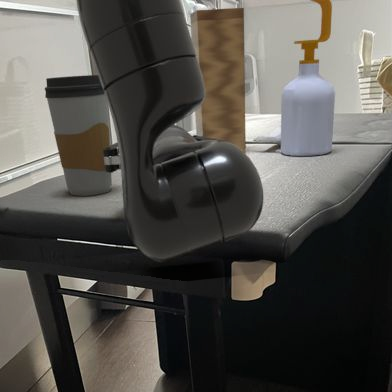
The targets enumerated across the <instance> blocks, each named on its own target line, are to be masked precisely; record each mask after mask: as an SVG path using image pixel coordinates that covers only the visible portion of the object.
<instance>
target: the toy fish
mask: <svg viewBox="0 0 392 392" xmlns="http://www.w3.org/2000/svg"><path fill="white" fill-rule="evenodd" d="M252 142H256V143H274V144H275V145H277V146H281V125H279V126H277V127H276V128H275V130H274V131H272V132H271V133H269V134H268V135H266V136H265V135H263V136H257V137H256V138H254V139H253V140H252Z"/></svg>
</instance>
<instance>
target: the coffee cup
mask: <svg viewBox="0 0 392 392" xmlns="http://www.w3.org/2000/svg"><path fill="white" fill-rule="evenodd" d="M45 80H46V86H45V87H44V91H45V95H44V96H45V97H44V98H45V99H46V100H47V105H48V109H49V114H50V118H51V123H52V127H53V134H54V138H55V142H56V146H57V147H56V148H57V152H58V156H59V160H60V165H61V168H62V170H63V174H64V179H65V183H66V187H67V188H66V189H67V190H68V191H69V192H70V195H72V196H77V197H78V196H79V197H86V196H87V197H88V196H97V195H102V194H105V193H108V192H110V191H111V187H112V186H113V180H112V173H109V172H106V170H105V163H104V154H103V149H104V148H106V147H109V146H111V140H110V139H111V138H110V127H109V115H108V102H107V99H106V96H105V91H104V90H103V88H102V85H101V82H100V79H99V77H98V74H90V75H89V74H87V75H72V76H59V77H57V76H56V77H47V78H46V79H45Z"/></svg>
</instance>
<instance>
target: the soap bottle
mask: <svg viewBox="0 0 392 392" xmlns="http://www.w3.org/2000/svg"><path fill="white" fill-rule="evenodd" d="M310 1H311V2H314V3H317V4H318V5H319V6H320V8H321V19H320V20H321V21H320V22H321V24H320V35H319V37H318V39H307V40H305V39H304V40H295V41H293V44H294V45H300V44H301V45H300V46H301V47H300V50H302V51H303V50H304V51H303V52H304V53H303V54H304V56H303V60H299V62H298V75H297V76H296V77H295V78H294V79H293V80H291V81H290V82H289V83H288V84H287V85H286V86H285V87H283V90H282V92H281V99H280V100H281V101H280V102H281V103H280V105H281V106H280V107H281V110H280V112H281V113H280V126H281V145H280V152H281V154H283V155H285V156H289V155H290V157H315V156H316V157H317V156H321V155H326V154H328V153H330V152H332V150H333V137H334V119H335V101H336V100H335V99H336V91H335V88H334V86H333V84H331V83H330V81H328V80H327V79H326V78H324V77H323V76H321V75H320V72H319V71H320V58H319V59H318V58H317V59H315V53H316V52H315V49H316V50H318V49H319V43H324V42H327V41H328V40H329V39H330V37H331V34H332V14H333V13H332V12H333V11H332V10H333V3H332V1H331V0H310Z"/></svg>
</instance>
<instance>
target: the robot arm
mask: <svg viewBox="0 0 392 392" xmlns="http://www.w3.org/2000/svg"><path fill="white" fill-rule="evenodd" d="M76 8H77V12H78V18H79V22H80V26H81V29H82V33H83V36H84V39H85V42H86V45H87V48H88V51H89V53H90V57H91V60H92V62H93V65H94V68H95V71H96V75H98V77H99V79H100V82H101V85H102V88H103V90H104V91H105V96H106V99H107V107H108V108H109V113H110V115H111V119H112V124H113V127H114V131H115V135H116V136H115V137H116V141H117V142H115V143H113V144H110V146H109V147H106V148H104V149H103V154H104V163H105V170H106V172H109V173H111V174H113V173H114V172H117V171H118V170H120V173H121V189H122V201H123V202H122V203H123V213H124V214H123V215H124V221H125V226H126V230H127V233H128V236H129V237H130V240H131V241H132V243H133V245H134V246H135V248H136V249H137V250H138V251H139V252H140V253H141V254H142V255H143V256H145V257H146V258H148V259H149V260H151V261H154V262H158V263H166V262H171V261H174V260H177V259H179V258H182V257H185V256H188V255H190V254H193V253H196V252H199V251H202V250H205V249H207V248H210V247H213V246H216V245H219V244H222V243H223V242H224V243H225V242H228V241H230V240H234V239H237V238H238V237H241V236H243V235H245V234H247V232H249V231H250V230H252V229H253V227H254V226H255V225H256V224H257V222H258V221H259V218H260V217H261V215H262V211H263V207H264V196H265V195H264V187H263V183H262V179H261V176H260V174H259V171H258V169H257V167H256V166H255V164H254V162H253V161H252V159H251V158H250V157H249V156H248V155H247V153H244V152H243V151H242V150H241V149H240V148H239V147H237V146H236V145H234V144H232V143H230V142H227V141H224V140H218V139H212V138H207V137H201V136H197V135H196V134H193V135H192V134H191V133H189V132H188V131H187V130H186V129H185V128H184V127H181V126H179V125H176V124H177V123H179V122H181V121H182V120H184V119H186V118H187V117H189V116H190V115H192V114H193V113H195V111H196V110H197V109H198V108H199V107H200V106H201V105H202V103H203V102H204V99H205V85H204V80H203V77H202V73H201V70H200V66H199V63H198V59H197V58H196V53H195V49H194V46H193V43H192V39H191V32H190V30H189V26H188V23H187V19H186V17H185V13H184V10H183V7H182V3H181V0H76Z"/></svg>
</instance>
